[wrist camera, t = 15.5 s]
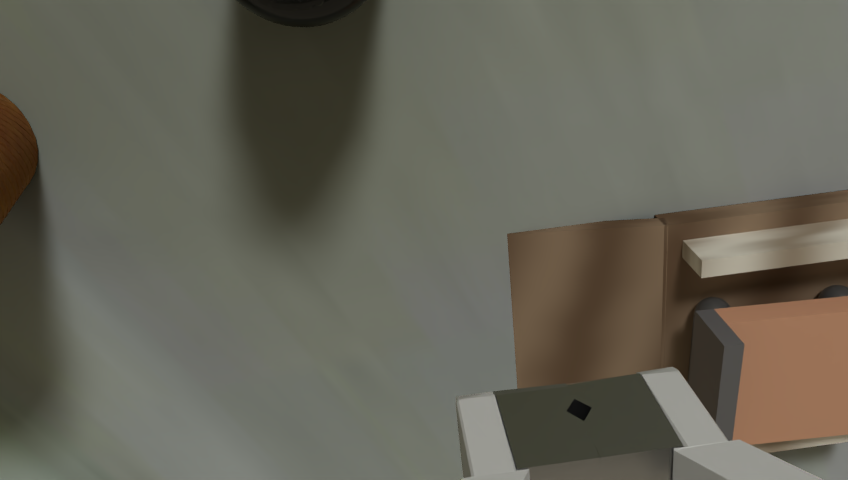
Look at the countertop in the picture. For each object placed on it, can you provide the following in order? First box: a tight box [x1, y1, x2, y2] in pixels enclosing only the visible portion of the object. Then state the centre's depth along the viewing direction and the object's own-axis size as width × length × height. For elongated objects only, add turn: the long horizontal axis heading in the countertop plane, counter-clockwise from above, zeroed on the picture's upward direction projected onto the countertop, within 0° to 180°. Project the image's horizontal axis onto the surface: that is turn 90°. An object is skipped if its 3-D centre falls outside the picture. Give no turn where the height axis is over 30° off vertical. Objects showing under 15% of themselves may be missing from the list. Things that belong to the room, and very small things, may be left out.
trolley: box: [687, 285, 848, 445], centre depth 41 cm, size 10×8×6 cm
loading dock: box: [507, 190, 848, 453], centre depth 43 cm, size 21×15×5 cm
